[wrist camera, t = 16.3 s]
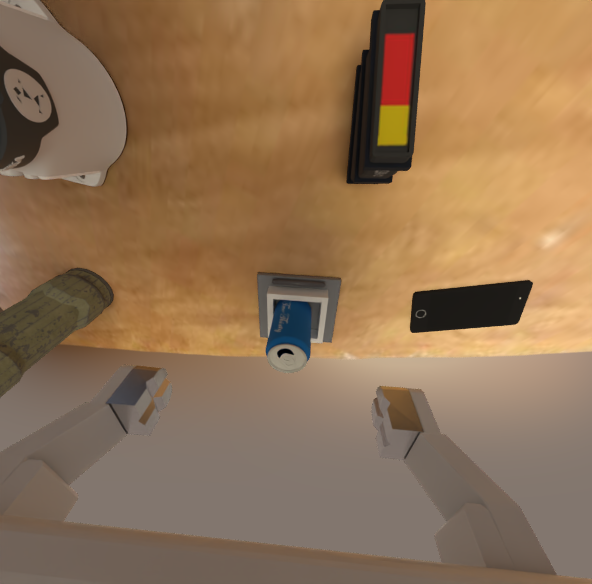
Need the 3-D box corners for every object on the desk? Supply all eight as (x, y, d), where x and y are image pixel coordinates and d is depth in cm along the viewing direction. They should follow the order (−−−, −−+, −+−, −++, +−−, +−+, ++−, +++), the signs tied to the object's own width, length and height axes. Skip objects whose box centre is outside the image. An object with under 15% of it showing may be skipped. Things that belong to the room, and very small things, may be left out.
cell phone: (412, 290, 43) (414, 293, 42) (530, 278, 40) (534, 281, 40) (409, 330, 48) (410, 333, 47) (514, 321, 45) (518, 324, 44)
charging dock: (261, 334, 50) (257, 346, 47) (258, 272, 43) (254, 282, 40) (331, 339, 50) (332, 352, 47) (340, 277, 42) (342, 288, 39)
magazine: (343, 205, 34) (367, 161, 19) (348, 100, 33) (379, -35, 18) (371, 205, 34) (417, 161, 19) (377, 100, 32) (433, -37, 18)
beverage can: (304, 289, 43) (301, 338, 33) (316, 318, 46) (316, 370, 36) (270, 299, 44) (256, 348, 34) (283, 326, 48) (274, 378, 38)
